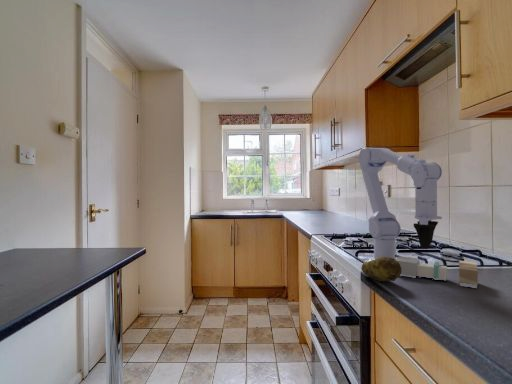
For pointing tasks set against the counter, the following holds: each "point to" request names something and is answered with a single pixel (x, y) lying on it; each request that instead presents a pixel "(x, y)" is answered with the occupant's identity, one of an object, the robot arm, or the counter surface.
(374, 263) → the potato
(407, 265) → the sleeve
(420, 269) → the white bar teal band
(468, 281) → the tan rectangular block
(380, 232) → the robot arm
